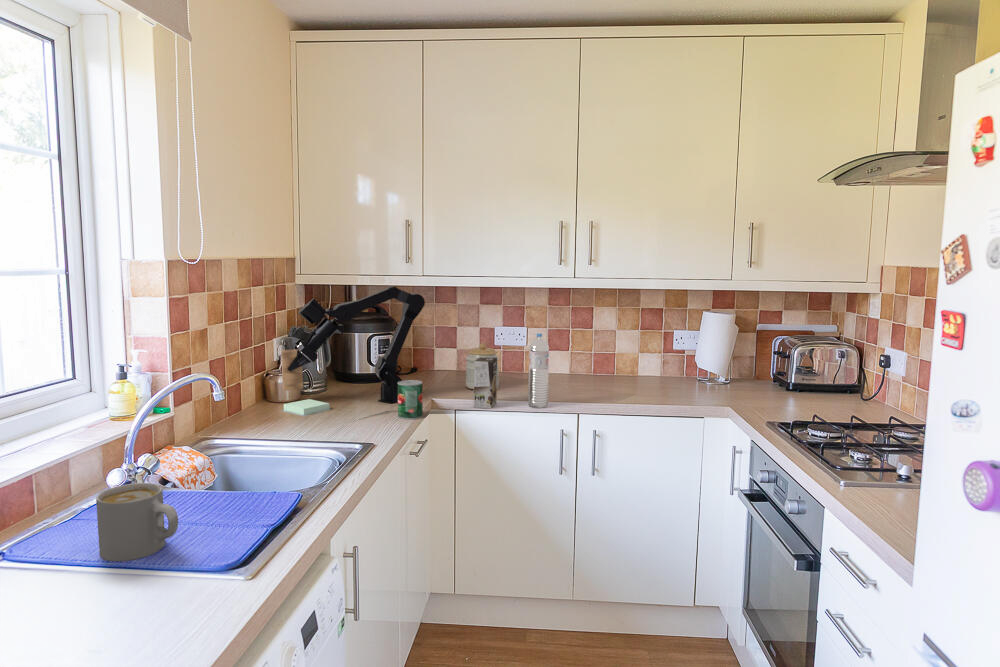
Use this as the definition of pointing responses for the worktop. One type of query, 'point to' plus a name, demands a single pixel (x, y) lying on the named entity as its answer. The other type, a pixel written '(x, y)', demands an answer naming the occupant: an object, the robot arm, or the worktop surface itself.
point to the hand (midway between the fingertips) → (287, 368)
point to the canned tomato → (410, 399)
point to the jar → (473, 356)
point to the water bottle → (538, 373)
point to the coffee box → (485, 382)
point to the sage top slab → (306, 407)
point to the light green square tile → (302, 415)
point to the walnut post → (294, 377)
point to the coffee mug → (133, 521)
